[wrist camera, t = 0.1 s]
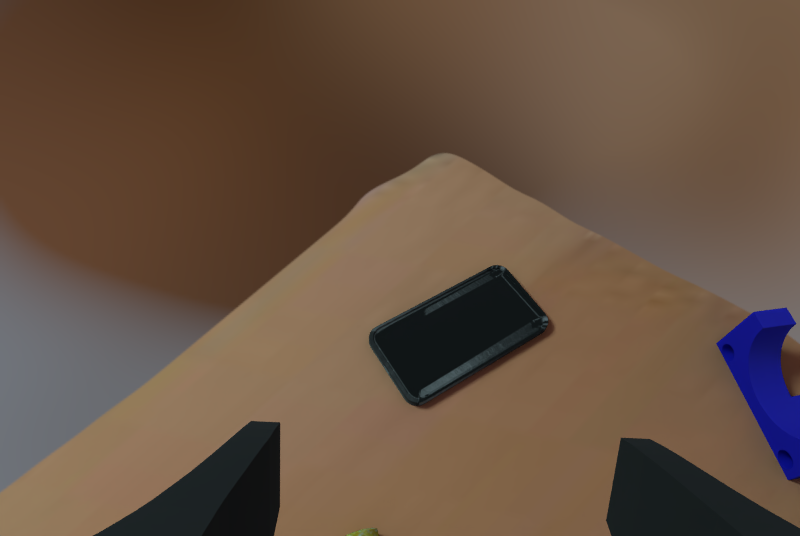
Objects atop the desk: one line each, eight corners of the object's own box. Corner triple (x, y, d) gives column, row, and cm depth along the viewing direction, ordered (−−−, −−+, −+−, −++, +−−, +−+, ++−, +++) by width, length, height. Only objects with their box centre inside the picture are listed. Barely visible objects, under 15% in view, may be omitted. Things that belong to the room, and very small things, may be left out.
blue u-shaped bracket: (836, 471, 45) (895, 450, 40) (786, 480, 44) (840, 460, 39) (759, 338, 51) (802, 305, 46) (715, 344, 51) (753, 312, 46)
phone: (553, 323, 50) (412, 407, 45) (550, 329, 51) (411, 412, 46) (499, 260, 53) (363, 331, 48) (497, 267, 54) (363, 337, 49)
